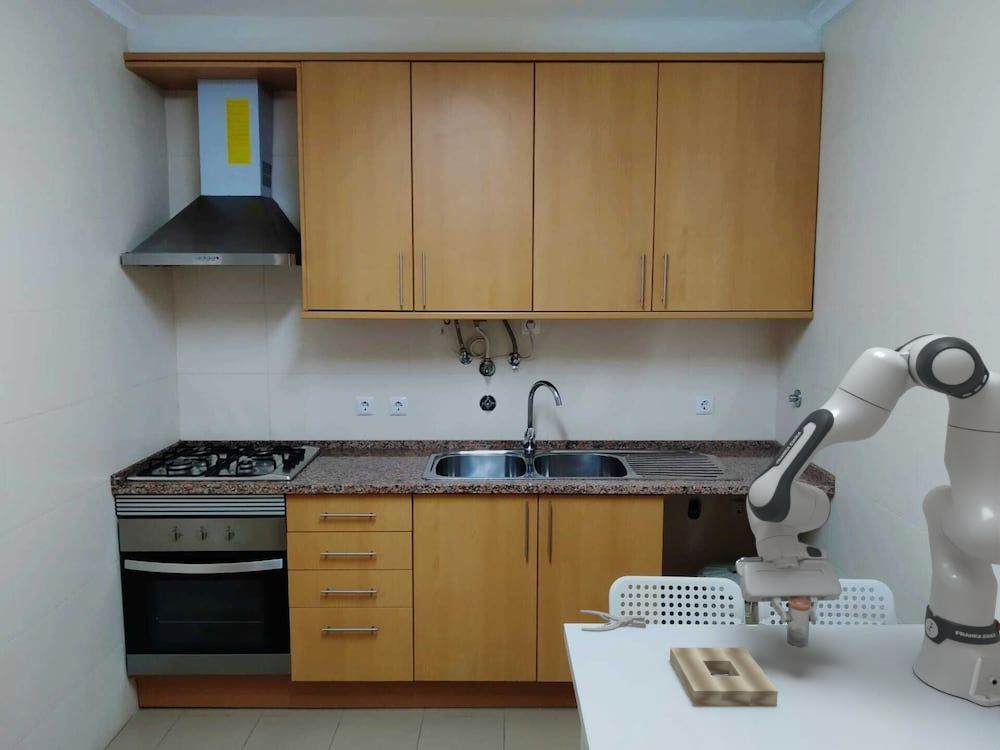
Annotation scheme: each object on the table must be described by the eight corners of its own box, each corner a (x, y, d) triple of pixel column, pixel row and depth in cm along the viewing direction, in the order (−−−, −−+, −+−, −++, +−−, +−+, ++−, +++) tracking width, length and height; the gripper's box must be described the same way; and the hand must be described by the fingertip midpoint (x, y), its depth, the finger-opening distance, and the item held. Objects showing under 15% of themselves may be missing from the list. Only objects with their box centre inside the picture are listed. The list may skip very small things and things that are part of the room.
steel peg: (802, 637, 144) (804, 596, 143) (812, 647, 140) (814, 605, 139) (783, 637, 144) (785, 596, 143) (792, 647, 140) (794, 605, 139)
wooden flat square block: (743, 661, 147) (744, 647, 147) (776, 705, 131) (777, 691, 131) (669, 660, 147) (670, 647, 146) (693, 705, 131) (694, 691, 130)
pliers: (580, 606, 168) (642, 610, 167) (580, 612, 169) (642, 616, 167) (582, 625, 159) (648, 629, 158) (581, 632, 159) (647, 636, 158)
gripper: (737, 551, 146) (754, 616, 138) (832, 549, 147) (855, 614, 138) (729, 563, 151) (744, 627, 143) (821, 561, 152) (842, 625, 143)
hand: (800, 621), depth 140 cm, fingers closed on steel peg, 4 cm apart
